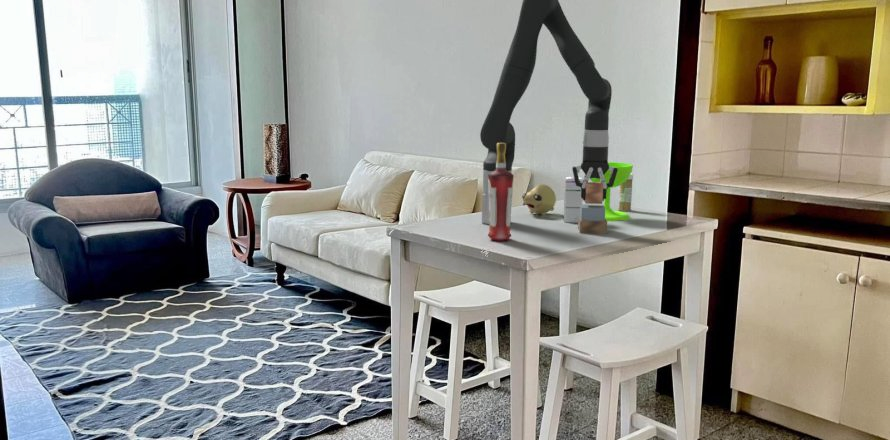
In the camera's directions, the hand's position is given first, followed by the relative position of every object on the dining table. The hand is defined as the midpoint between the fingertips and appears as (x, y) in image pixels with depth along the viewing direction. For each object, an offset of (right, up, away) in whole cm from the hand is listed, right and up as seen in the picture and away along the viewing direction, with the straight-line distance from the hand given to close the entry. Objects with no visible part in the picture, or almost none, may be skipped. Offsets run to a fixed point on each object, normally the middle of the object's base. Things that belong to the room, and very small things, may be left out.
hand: (593, 200), depth 224 cm
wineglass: (+10, -5, +26) cm, 29 cm away
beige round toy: (-13, -4, +30) cm, 33 cm away
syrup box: (-3, -7, +18) cm, 19 cm away
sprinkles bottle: (+19, -3, +39) cm, 44 cm away
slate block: (0, -6, +1) cm, 6 cm away
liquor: (-30, -12, -12) cm, 34 cm away
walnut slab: (0, -10, +2) cm, 10 cm away
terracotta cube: (0, -1, 0) cm, 1 cm away
